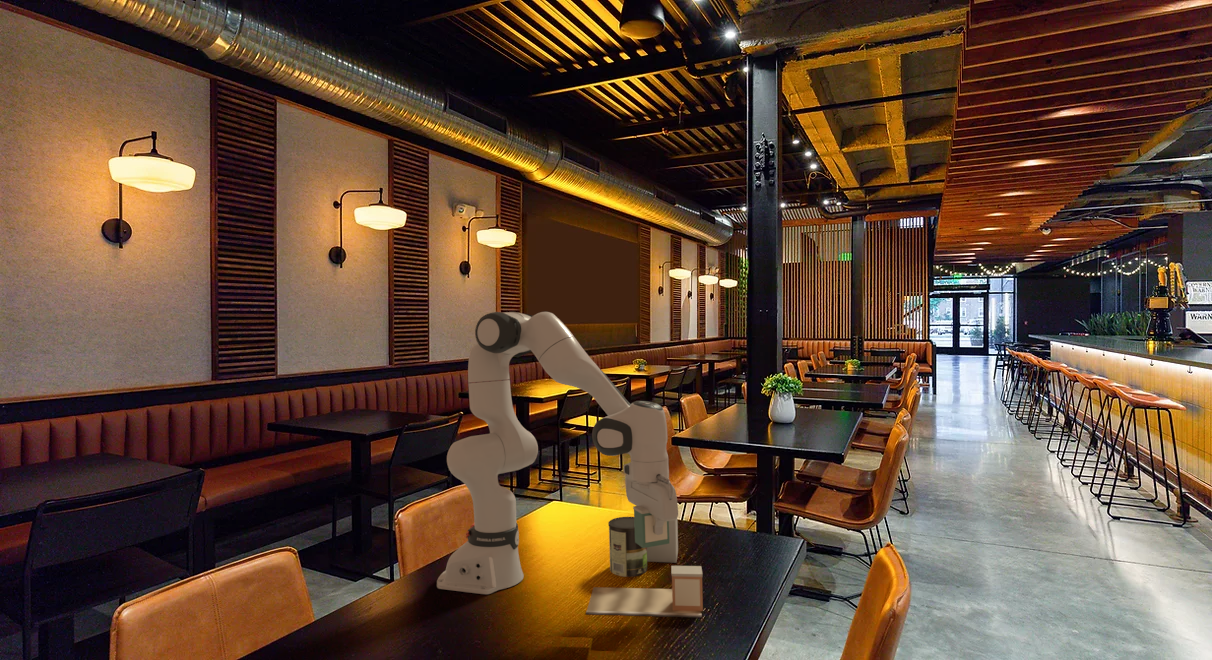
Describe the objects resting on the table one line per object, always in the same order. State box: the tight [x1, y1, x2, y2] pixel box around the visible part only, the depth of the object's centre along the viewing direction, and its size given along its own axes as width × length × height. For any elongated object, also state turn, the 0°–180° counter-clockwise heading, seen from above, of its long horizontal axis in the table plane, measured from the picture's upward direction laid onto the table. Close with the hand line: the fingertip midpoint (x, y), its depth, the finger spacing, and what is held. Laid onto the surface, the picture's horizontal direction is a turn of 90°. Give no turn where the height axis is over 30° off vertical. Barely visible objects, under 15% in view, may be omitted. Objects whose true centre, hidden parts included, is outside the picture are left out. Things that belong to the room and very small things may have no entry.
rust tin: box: [670, 565, 704, 612], centre depth 136 cm, size 5×7×8 cm
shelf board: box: [585, 586, 703, 618], centre depth 139 cm, size 26×14×2 cm, turn 84°
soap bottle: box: [647, 518, 679, 564], centre depth 170 cm, size 9×9×19 cm
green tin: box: [632, 505, 669, 548], centre depth 138 cm, size 5×7×8 cm
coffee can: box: [608, 516, 648, 578], centre depth 158 cm, size 10×10×14 cm
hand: (652, 530), depth 137 cm, fingers closed on green tin, 5 cm apart
